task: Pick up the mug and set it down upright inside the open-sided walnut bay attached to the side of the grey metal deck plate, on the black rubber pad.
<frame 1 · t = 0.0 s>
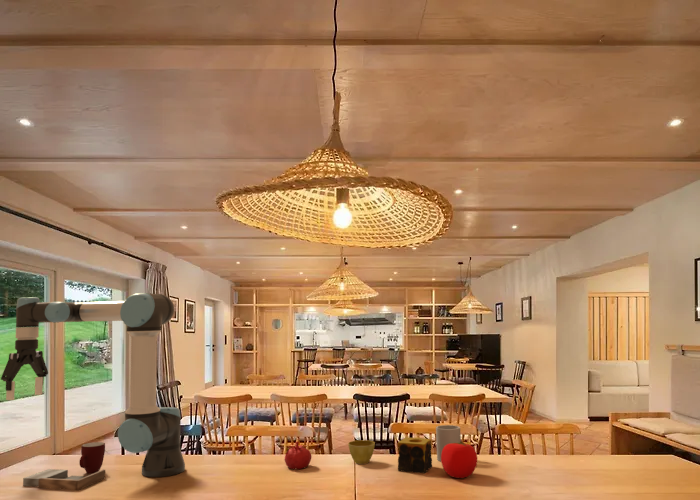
hand: (24, 397, 218), 28 cm above the table, fingers open, 13 cm apart
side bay: (71, 483, 204), on the table
mug: (90, 473, 217), on the table
flower pot: (361, 463, 224), on the table
tomato: (459, 476, 202), on the table
cup: (449, 460, 225), on the table
pomegranate: (298, 467, 219), on the table
candle: (415, 469, 213), on the table
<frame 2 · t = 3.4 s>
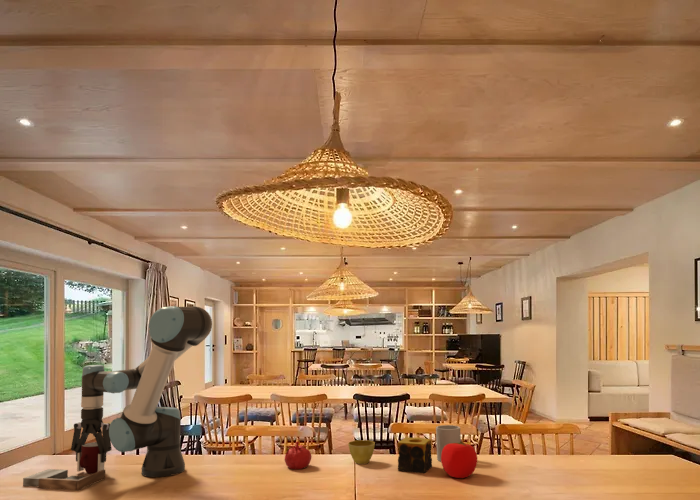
hand: (90, 471, 217), 1 cm above the table, fingers closed on mug, 8 cm apart
mug: (90, 473, 217), on the table, touching gripper
everything else where it was.
when the fingers open (3 cm above the table, at t = 8.1 s): mug drops 2 cm, resting on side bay.
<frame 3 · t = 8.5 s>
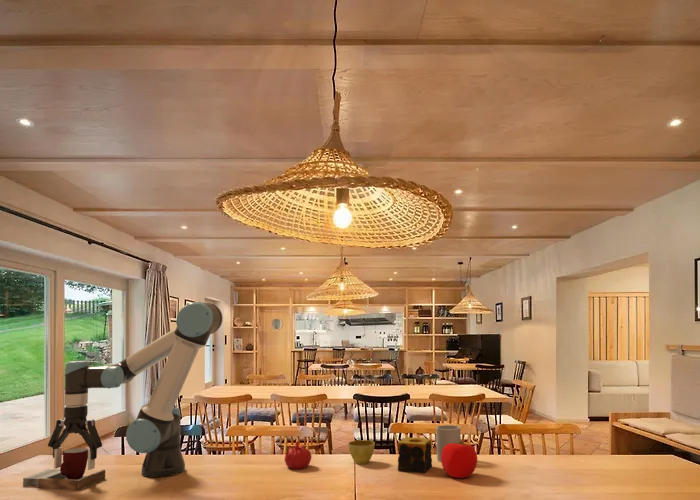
hand: (74, 468, 206), 5 cm above the table, fingers open, 13 cm apart
mug: (72, 481, 206), resting on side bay
everything else where it was.
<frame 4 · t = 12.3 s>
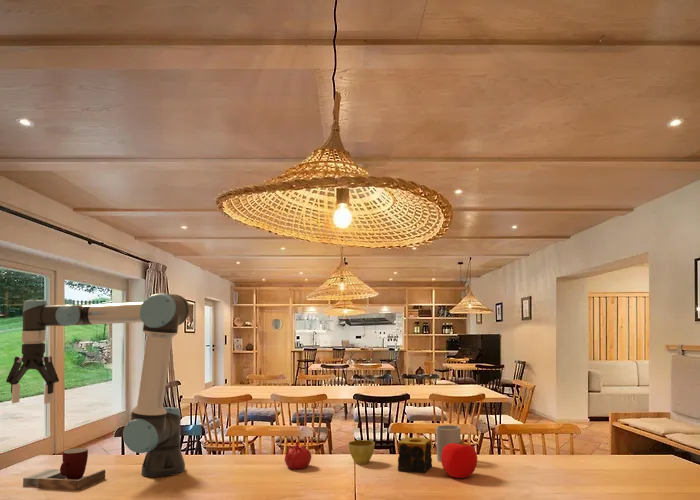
hand: (31, 403, 212), 27 cm above the table, fingers open, 13 cm apart
nothing on the table moved.
at the end: mug inside the target area (0.6 cm from its centre), resting on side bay; mug tilted 0°; the gripper is holding nothing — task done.
